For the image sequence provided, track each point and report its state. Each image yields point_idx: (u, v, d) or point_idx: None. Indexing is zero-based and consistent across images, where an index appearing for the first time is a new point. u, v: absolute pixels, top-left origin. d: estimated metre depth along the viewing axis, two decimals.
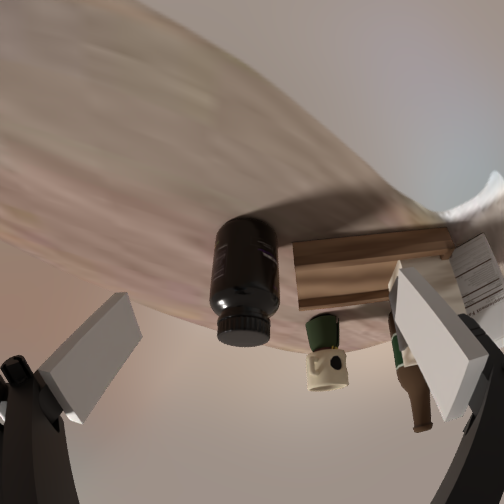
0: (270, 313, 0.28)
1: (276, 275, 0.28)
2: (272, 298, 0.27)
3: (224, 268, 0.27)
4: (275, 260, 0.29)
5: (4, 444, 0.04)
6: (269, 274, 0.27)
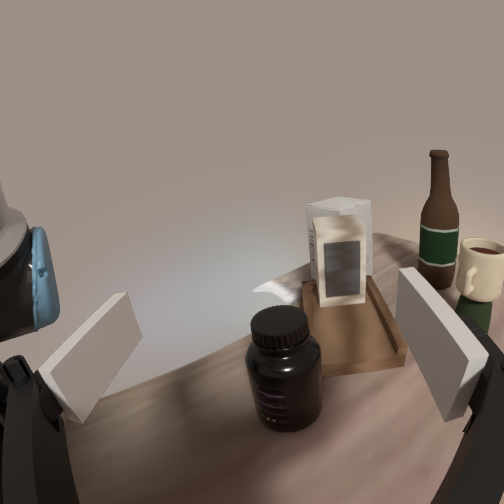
0: None
1: None
2: None
3: (250, 381, 0.25)
4: None
5: (4, 444, 0.04)
6: None
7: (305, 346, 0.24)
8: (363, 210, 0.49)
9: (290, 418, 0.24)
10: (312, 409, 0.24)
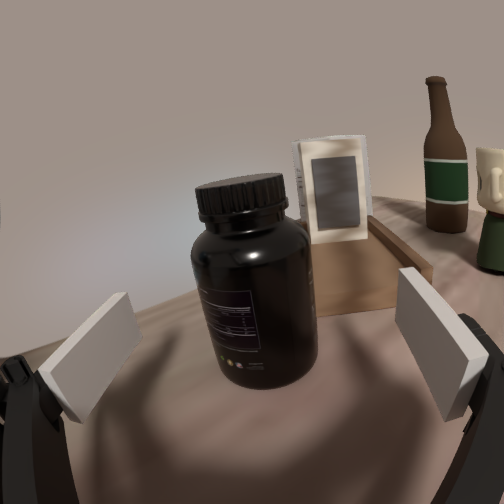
0: None
1: None
2: None
3: None
4: None
5: (4, 444, 0.04)
6: None
7: (282, 220, 0.15)
8: None
9: (265, 359, 0.15)
10: (301, 344, 0.16)
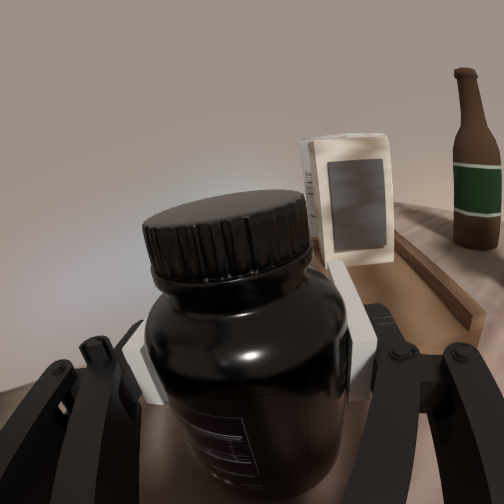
0: None
1: None
2: None
3: None
4: None
5: (67, 433, 0.05)
6: None
7: (302, 285, 0.08)
8: None
9: (266, 482, 0.08)
10: (321, 459, 0.09)
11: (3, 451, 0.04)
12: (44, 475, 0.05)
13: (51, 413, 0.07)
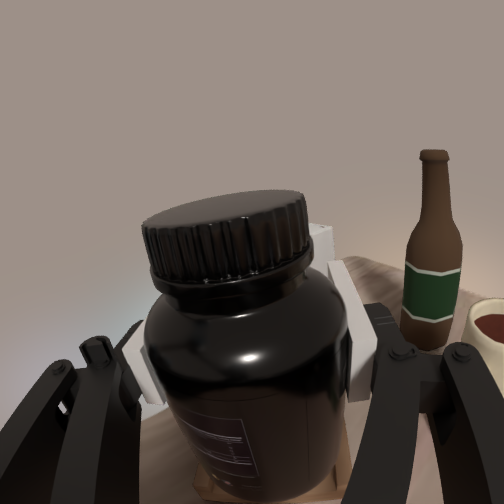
0: None
1: None
2: None
3: None
4: None
5: (67, 433, 0.05)
6: None
7: (302, 286, 0.08)
8: (320, 242, 0.35)
9: (266, 483, 0.08)
10: (321, 460, 0.09)
11: (3, 451, 0.04)
12: (44, 475, 0.05)
13: (51, 413, 0.07)
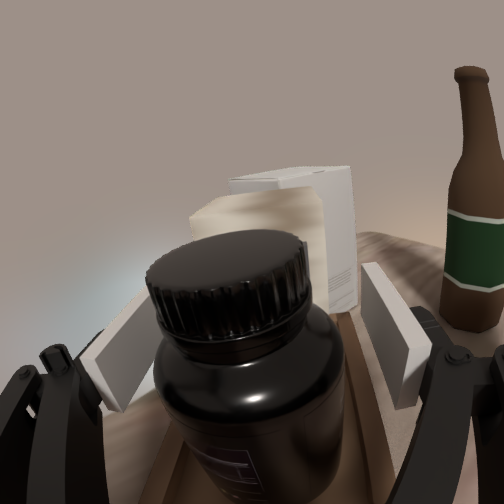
0: None
1: None
2: None
3: None
4: None
5: (35, 437, 0.05)
6: None
7: (301, 331, 0.08)
8: (335, 183, 0.25)
9: (271, 497, 0.09)
10: (321, 476, 0.09)
11: None
12: (20, 474, 0.05)
13: (21, 414, 0.06)
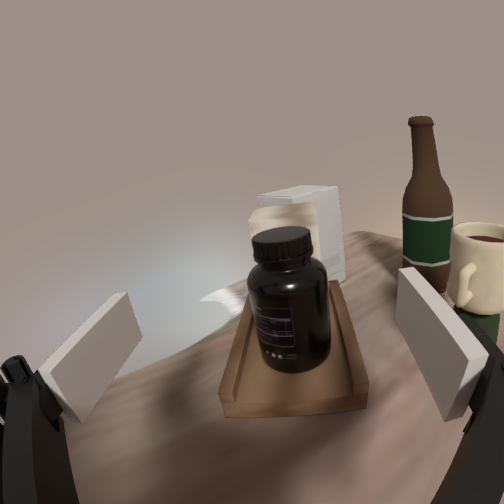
0: None
1: None
2: None
3: (252, 309, 0.25)
4: None
5: (4, 444, 0.04)
6: None
7: (309, 262, 0.23)
8: (327, 198, 0.40)
9: (298, 351, 0.23)
10: (321, 341, 0.24)
11: None
12: None
13: None
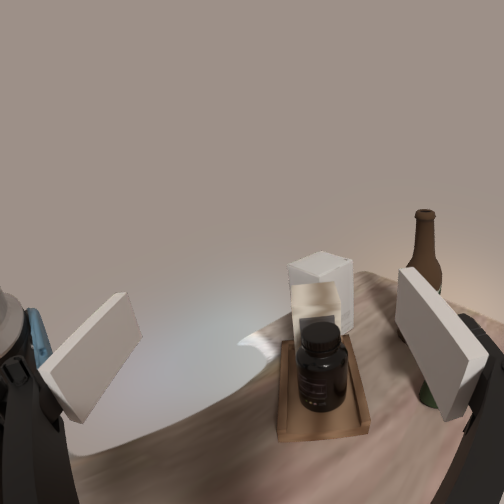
0: None
1: None
2: None
3: (298, 376, 0.35)
4: None
5: (4, 444, 0.04)
6: None
7: (338, 349, 0.34)
8: (344, 271, 0.50)
9: (327, 401, 0.34)
10: (341, 394, 0.34)
11: None
12: None
13: None
